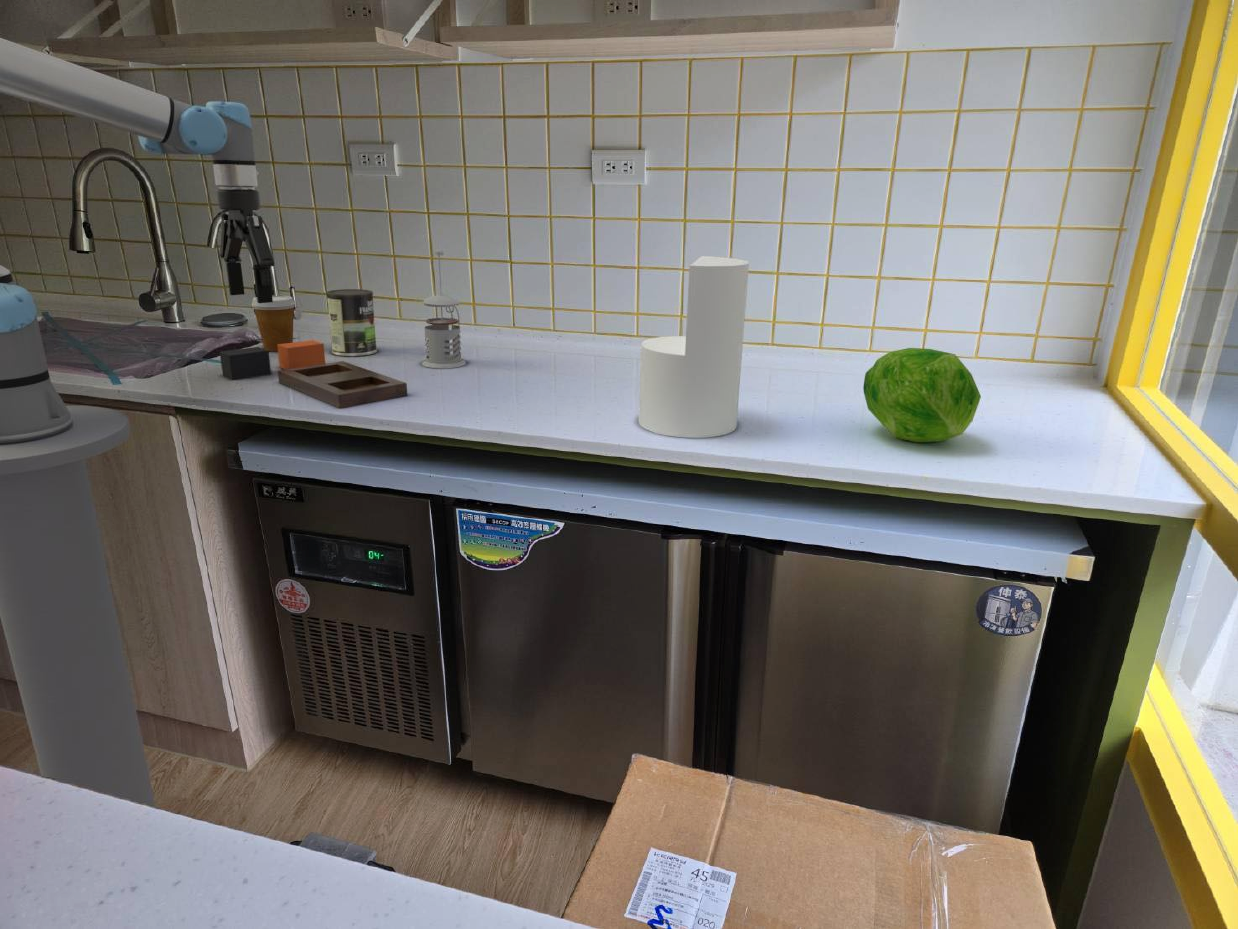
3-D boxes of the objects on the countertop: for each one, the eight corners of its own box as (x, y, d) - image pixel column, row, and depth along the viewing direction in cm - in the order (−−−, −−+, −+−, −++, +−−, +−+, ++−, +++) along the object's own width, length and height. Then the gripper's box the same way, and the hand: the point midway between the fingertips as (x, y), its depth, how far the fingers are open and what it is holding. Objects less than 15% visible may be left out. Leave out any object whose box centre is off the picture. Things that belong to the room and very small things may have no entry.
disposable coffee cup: (300, 344, 200) (295, 294, 196) (299, 352, 192) (293, 300, 188) (258, 345, 197) (252, 295, 193) (255, 353, 189) (248, 301, 185)
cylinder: (739, 414, 151) (751, 258, 142) (732, 441, 135) (745, 268, 126) (647, 406, 154) (653, 253, 145) (629, 432, 138) (635, 263, 129)
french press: (413, 366, 181) (406, 249, 173) (438, 356, 192) (432, 245, 183) (454, 369, 179) (449, 252, 170) (476, 359, 189) (473, 247, 181)
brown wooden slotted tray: (339, 408, 148) (338, 394, 147) (278, 382, 164) (277, 370, 164) (407, 395, 157) (406, 382, 157) (343, 372, 174) (342, 361, 173)
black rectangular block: (232, 379, 166) (229, 355, 164) (222, 375, 169) (219, 351, 167) (271, 374, 171) (268, 350, 169) (261, 369, 174) (258, 346, 173)
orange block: (290, 371, 174) (287, 348, 172) (279, 367, 177) (277, 344, 175) (325, 366, 179) (323, 343, 177) (315, 362, 182) (312, 339, 181)
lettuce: (1000, 439, 139) (968, 354, 145) (981, 405, 122) (944, 311, 128) (902, 473, 146) (874, 391, 152) (870, 445, 130) (841, 354, 136)
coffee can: (384, 349, 197) (380, 289, 193) (364, 357, 188) (359, 295, 183) (344, 346, 199) (339, 287, 194) (323, 355, 189) (317, 293, 185)
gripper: (284, 190, 154) (296, 304, 161) (231, 186, 170) (244, 290, 177) (244, 190, 149) (258, 307, 156) (193, 186, 165) (208, 292, 172)
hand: (251, 298), depth 167 cm, fingers open, 13 cm apart
